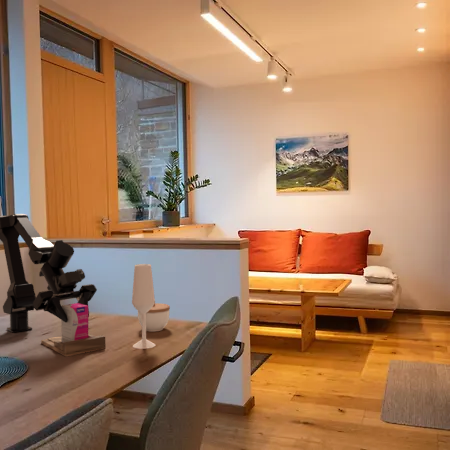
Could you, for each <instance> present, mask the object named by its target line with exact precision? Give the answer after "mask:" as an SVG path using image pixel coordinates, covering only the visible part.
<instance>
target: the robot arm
mask: <svg viewBox="0 0 450 450" xmlns="http://www.w3.org/2000/svg"><path fill="white" fill-rule="evenodd" d="M29 219H30V218H29V216H28V214H25V213H13V214H11V215H0V241H1V242H2V245H3V249H4V250H3V251H4V256H5V261H6V267H7V272H8V277H9V281H10V282H9V283H10V284H9V287H8V289H7V291H6V296H7V298H6V300H5V301H4V303H3V305H2V310H3V313H4V314H7V315H9V327H6V330H7V331H9V332H11V333H19V332H26V331H31V330H33V328H32V327H31V326H29V311H34V310H35V311H43V312H47V313H50V314H51V315H54V316H55V317H57V318H58V319H59V320H60V321H61V320H62V321H64V322H67V321H68V319H67V316H66V314H65V312H64V310H63V308H62V305H61V301H66V300H67V301H68V300H72V299H76V300H77V302H76V303H80V304H83V305H87V306H88V318H89V317H90V311H89V302H90V301H91V300H92V298H93V297H94V295H95V293H97V290H98V289H97V287H96V286H95V284H90V283H89V284H83V285H81V286H80V288H79V290H75V289H76V288H77V284H78V283H81V282H82V281H83V280H84V279H86V274H85V271H84V270H83V269H81V268H78V269H76V270H74V271H67V272H64V268H66V267H67V266H68V264H69V262H70V261H71V259H72V257H73V256H74V254H75V250H74V248H73V246H71V245H70V244H68V243H66V242H64V240H63V239H59V240H55V243H54V244H53V243H52V242H50V241H49V240H46V239H44V237H42V236H41V235H40V233H39V232H38V230H37V229H36V228H35V226H34V225H33V224H32V222H31V221H30V220H29ZM20 237H21V238H22V240H23V241H24V243H25V244H26V246H27V247H28V256H29V258H30V261H31V262H32V263H33V264H34V265H42V266H41V268H40V271H39V277H44V279H45V281H46V283H47V284H48V285H47V287H46V289H47V290H44V291H43V290H42V291H39V292H38V293H37V295H36V293H35V288H34V285H33V283H29V282H28V281H27V279H26V274H25V268H24V262H23V259H22V252H21V248H20V242H19V238H20Z"/></svg>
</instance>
